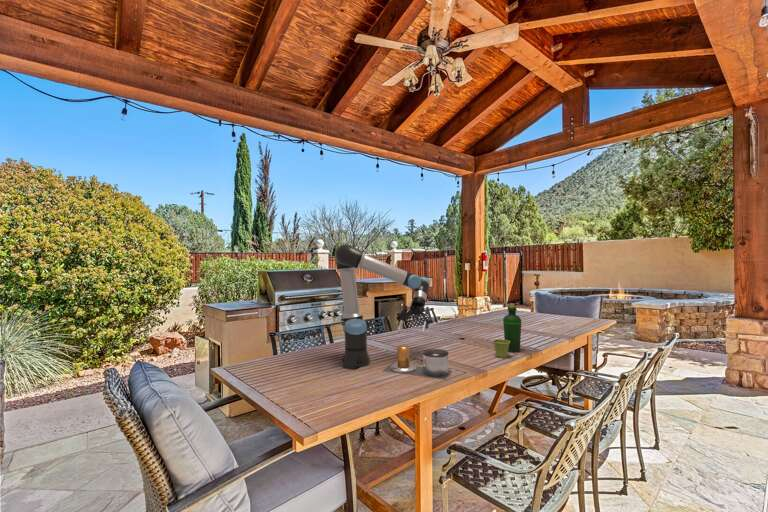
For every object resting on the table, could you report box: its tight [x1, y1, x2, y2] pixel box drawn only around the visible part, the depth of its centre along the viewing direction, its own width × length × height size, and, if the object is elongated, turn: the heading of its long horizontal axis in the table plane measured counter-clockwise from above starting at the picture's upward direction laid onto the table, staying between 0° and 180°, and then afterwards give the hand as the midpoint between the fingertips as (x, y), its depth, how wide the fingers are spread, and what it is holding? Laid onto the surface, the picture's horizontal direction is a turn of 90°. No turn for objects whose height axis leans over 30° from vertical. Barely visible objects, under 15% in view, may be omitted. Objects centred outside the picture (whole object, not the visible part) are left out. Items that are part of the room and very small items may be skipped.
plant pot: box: [492, 338, 510, 359], centre depth 199 cm, size 9×9×9 cm
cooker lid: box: [391, 344, 418, 374], centre depth 174 cm, size 13×13×11 cm
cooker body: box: [422, 348, 449, 378], centre depth 168 cm, size 12×12×10 cm
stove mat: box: [381, 362, 453, 381], centre depth 172 cm, size 32×14×1 cm, turn 67°
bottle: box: [502, 303, 522, 353], centre depth 210 cm, size 11×11×28 cm
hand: (411, 332), depth 185 cm, fingers open, 13 cm apart
